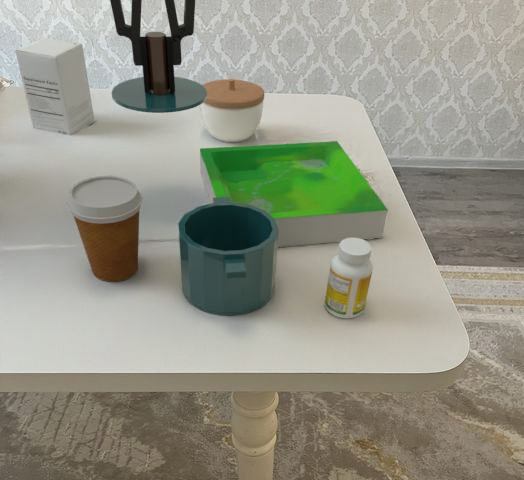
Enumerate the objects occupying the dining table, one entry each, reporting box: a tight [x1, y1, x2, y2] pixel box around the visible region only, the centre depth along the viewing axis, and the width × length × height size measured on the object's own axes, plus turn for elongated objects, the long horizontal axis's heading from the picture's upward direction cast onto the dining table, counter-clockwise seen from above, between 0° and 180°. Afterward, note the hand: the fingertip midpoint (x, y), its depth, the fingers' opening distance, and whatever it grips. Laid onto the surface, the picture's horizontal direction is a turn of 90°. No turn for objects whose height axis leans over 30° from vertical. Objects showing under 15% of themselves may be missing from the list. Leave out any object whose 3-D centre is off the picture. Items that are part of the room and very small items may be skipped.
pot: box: [177, 197, 279, 317], centre depth 78 cm, size 13×18×10 cm
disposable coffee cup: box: [66, 175, 143, 283], centre depth 79 cm, size 10×10×12 cm
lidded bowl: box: [199, 78, 265, 143], centre depth 115 cm, size 13×13×11 cm
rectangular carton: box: [15, 37, 95, 136], centre depth 114 cm, size 9×9×15 cm
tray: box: [199, 140, 389, 248], centre depth 97 cm, size 25×25×5 cm
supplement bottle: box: [324, 238, 374, 319], centre depth 76 cm, size 5×5×10 cm
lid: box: [111, 31, 207, 114], centre depth 83 cm, size 14×14×9 cm
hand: (159, 88), depth 85 cm, fingers closed on lid, 3 cm apart
